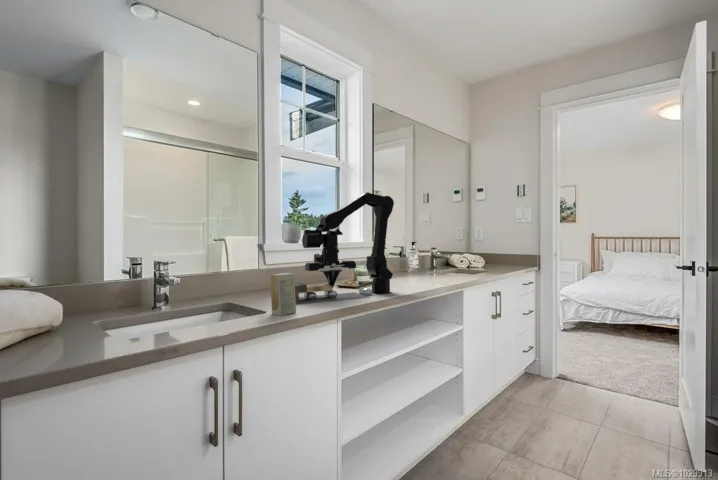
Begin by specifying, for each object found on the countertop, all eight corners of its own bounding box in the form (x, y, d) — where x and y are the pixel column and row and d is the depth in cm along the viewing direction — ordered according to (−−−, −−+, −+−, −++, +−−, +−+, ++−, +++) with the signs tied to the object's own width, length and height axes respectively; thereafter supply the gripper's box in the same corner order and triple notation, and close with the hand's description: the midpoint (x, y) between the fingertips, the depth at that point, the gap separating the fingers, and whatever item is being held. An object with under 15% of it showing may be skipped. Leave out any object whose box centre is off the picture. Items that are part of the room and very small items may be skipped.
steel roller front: (322, 292, 143) (327, 298, 144) (328, 294, 138) (332, 300, 139) (328, 287, 144) (333, 292, 145) (334, 288, 139) (338, 294, 140)
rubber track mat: (354, 293, 154) (354, 292, 154) (371, 298, 140) (371, 297, 140) (282, 299, 142) (282, 298, 142) (292, 305, 127) (292, 304, 127)
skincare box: (288, 311, 118) (287, 272, 118) (296, 313, 115) (295, 273, 115) (270, 314, 113) (269, 274, 113) (278, 316, 110) (277, 274, 110)
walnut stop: (299, 299, 142) (299, 282, 142) (307, 302, 133) (306, 284, 133) (283, 300, 139) (283, 283, 139) (290, 304, 130) (290, 286, 130)
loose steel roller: (310, 298, 141) (312, 290, 142) (315, 301, 136) (317, 292, 136) (303, 297, 140) (304, 289, 140) (307, 299, 135) (309, 291, 135)
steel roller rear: (359, 287, 150) (358, 294, 150) (365, 289, 144) (365, 296, 144) (366, 287, 151) (365, 294, 151) (372, 289, 146) (372, 296, 146)
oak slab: (325, 287, 145) (325, 283, 145) (332, 290, 138) (332, 285, 138) (300, 289, 141) (300, 285, 141) (306, 292, 133) (306, 287, 133)
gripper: (344, 246, 153) (345, 284, 153) (300, 247, 145) (301, 288, 145) (356, 246, 143) (357, 287, 143) (308, 248, 135) (310, 291, 135)
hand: (331, 288), depth 142 cm, fingers closed
